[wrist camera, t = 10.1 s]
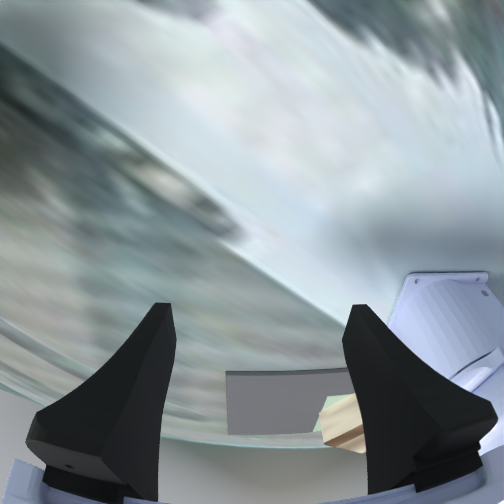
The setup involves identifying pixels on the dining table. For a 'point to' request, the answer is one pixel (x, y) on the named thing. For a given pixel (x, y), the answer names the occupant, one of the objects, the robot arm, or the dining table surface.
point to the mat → (282, 399)
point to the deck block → (343, 425)
